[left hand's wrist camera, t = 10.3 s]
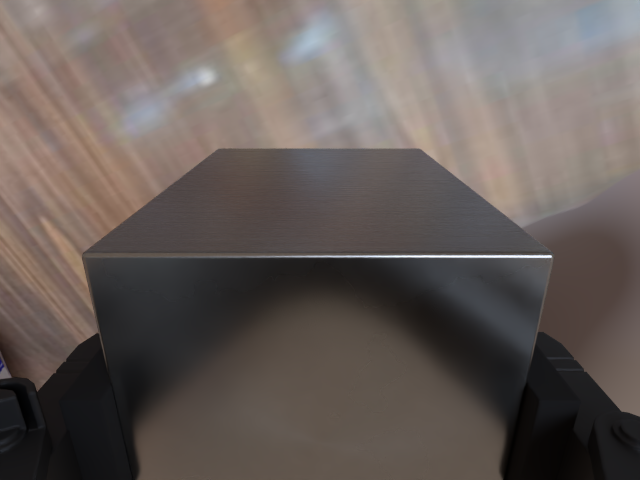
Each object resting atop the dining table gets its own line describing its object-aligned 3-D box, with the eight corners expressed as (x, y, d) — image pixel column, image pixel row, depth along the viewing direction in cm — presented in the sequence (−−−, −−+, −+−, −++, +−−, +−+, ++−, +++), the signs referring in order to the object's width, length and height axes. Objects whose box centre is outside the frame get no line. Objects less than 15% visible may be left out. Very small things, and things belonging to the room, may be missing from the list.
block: (421, 148, 17) (558, 253, 7) (405, 329, 20) (485, 574, 10) (217, 148, 17) (78, 253, 7) (233, 329, 20) (151, 574, 10)
